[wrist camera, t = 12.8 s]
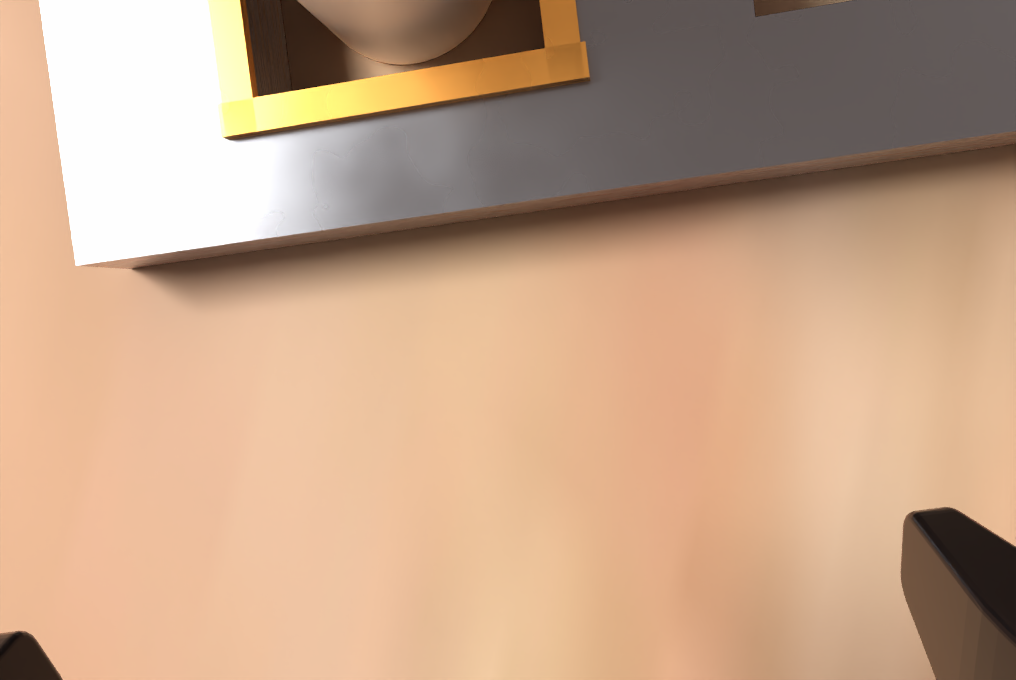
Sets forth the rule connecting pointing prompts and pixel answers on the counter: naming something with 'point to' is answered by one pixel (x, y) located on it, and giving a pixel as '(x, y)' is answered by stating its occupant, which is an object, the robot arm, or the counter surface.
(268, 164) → the grey flat block
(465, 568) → the counter surface
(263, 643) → the counter surface
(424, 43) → the cream peg
